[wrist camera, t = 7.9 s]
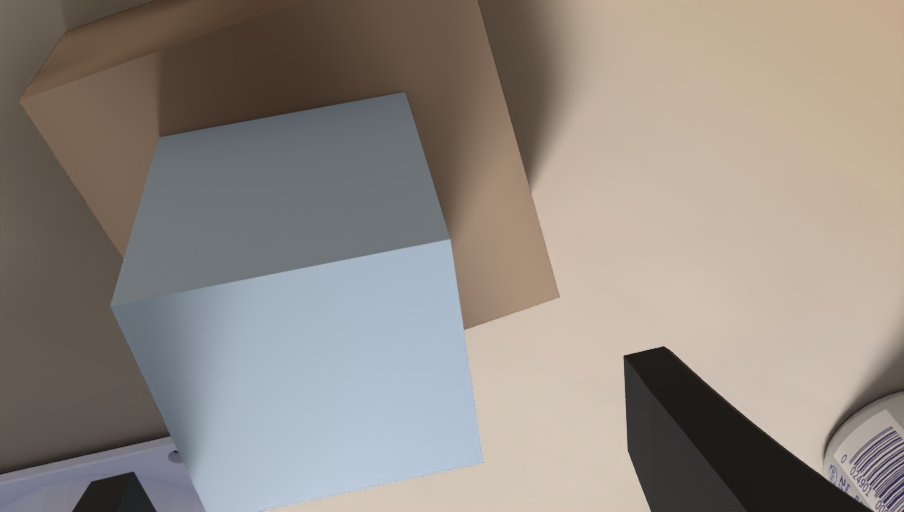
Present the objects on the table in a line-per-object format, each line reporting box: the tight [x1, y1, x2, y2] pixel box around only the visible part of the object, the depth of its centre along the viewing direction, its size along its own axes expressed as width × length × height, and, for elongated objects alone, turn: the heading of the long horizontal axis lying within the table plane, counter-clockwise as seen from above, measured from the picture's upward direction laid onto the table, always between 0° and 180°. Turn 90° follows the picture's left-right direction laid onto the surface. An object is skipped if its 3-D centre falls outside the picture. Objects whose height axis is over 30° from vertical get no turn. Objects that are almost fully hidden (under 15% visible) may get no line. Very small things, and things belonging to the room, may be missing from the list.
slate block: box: [110, 92, 484, 512], centre depth 14 cm, size 4×4×5 cm
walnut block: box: [19, 0, 560, 330], centre depth 18 cm, size 8×8×4 cm
